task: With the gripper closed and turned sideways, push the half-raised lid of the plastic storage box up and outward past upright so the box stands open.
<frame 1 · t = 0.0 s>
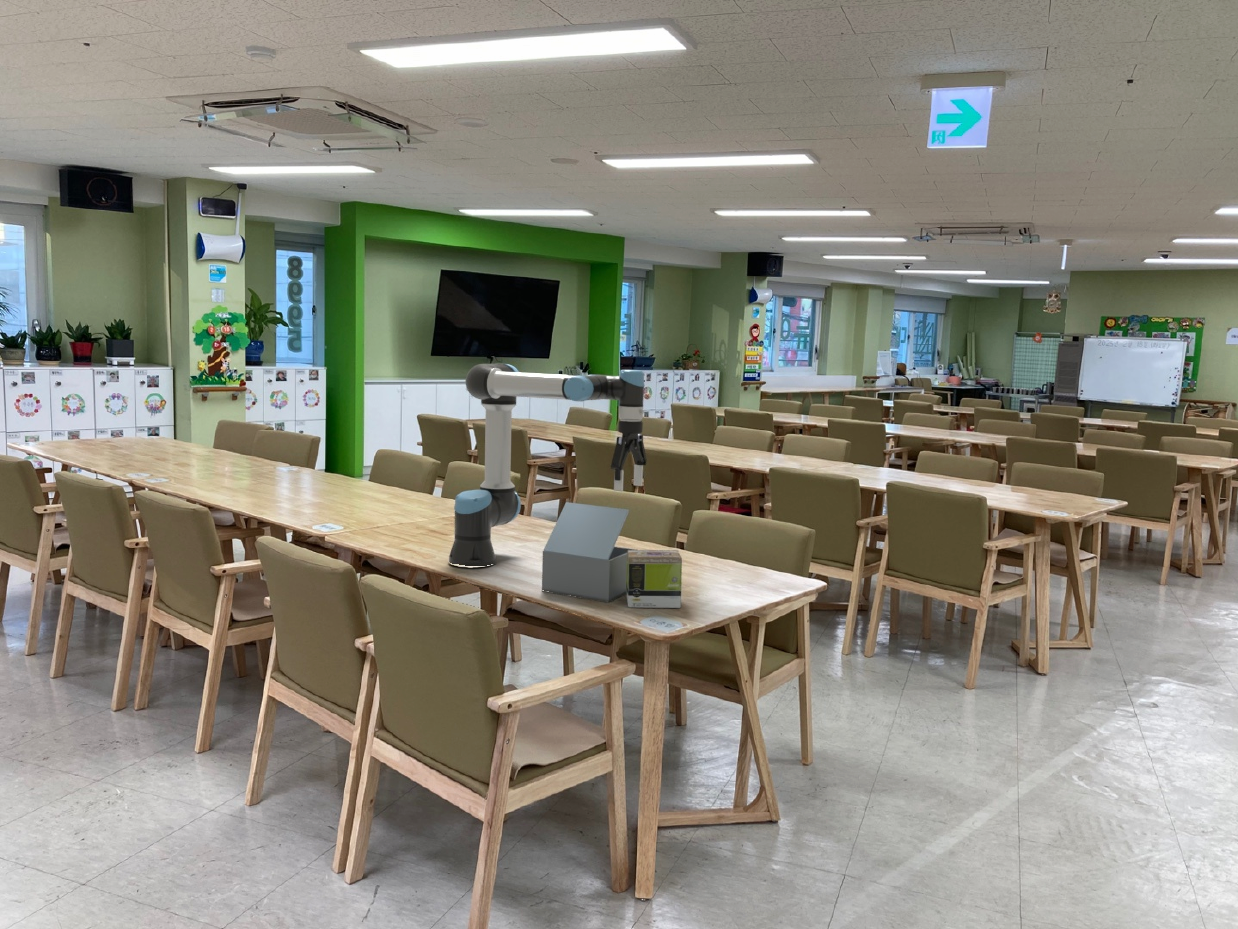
hand: (628, 488, 295), 28 cm above the table, tool pointing down, fingers open, 13 cm apart
storage box: (589, 590, 280), on the table
lid: (586, 530, 275), point 18 cm above the table, hinge at 45.0°
tea box: (652, 604, 268), on the table
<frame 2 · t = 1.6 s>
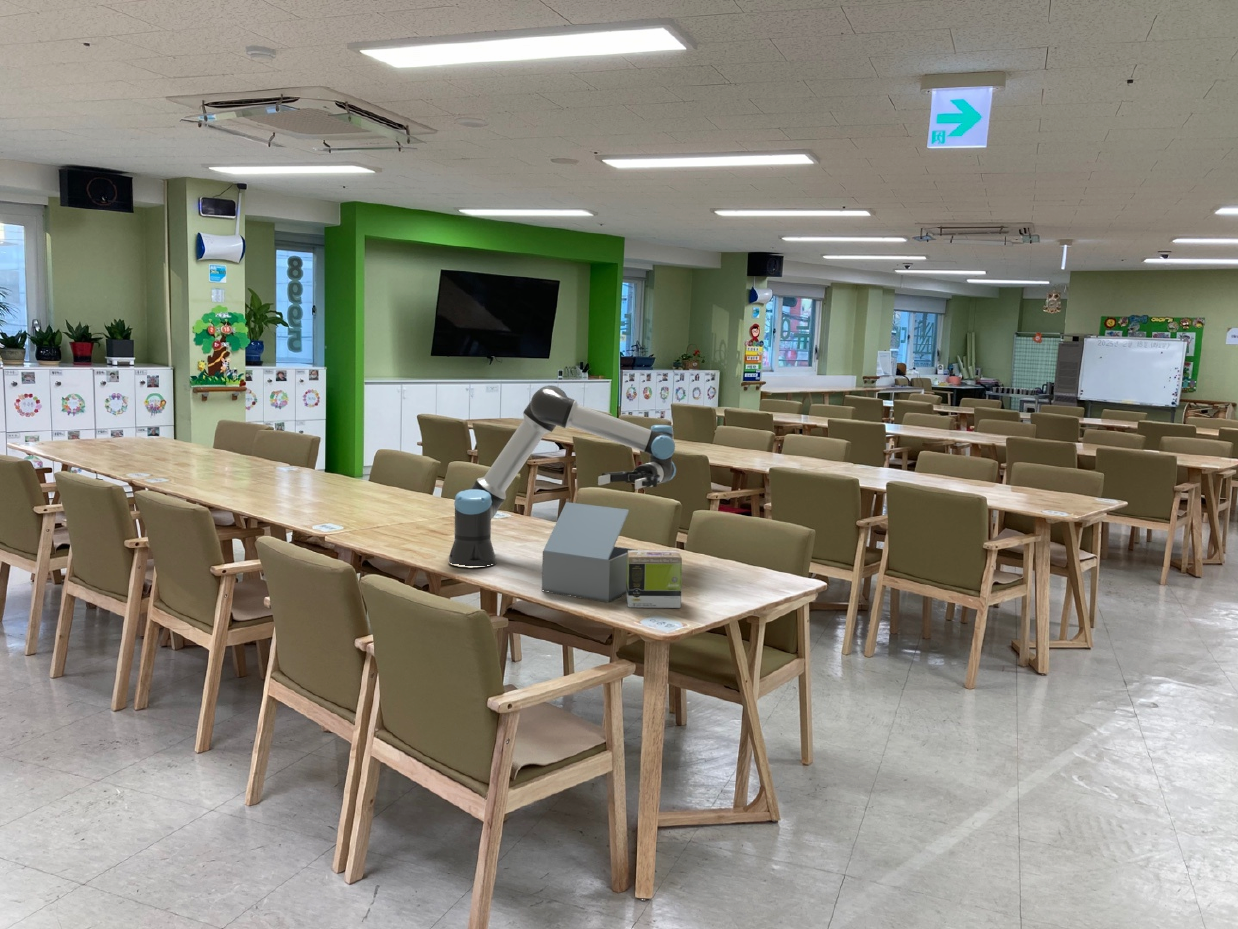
hand: (617, 482, 291), 30 cm above the table, tool horizontal, fingers open, 12 cm apart
nothing on the table moved.
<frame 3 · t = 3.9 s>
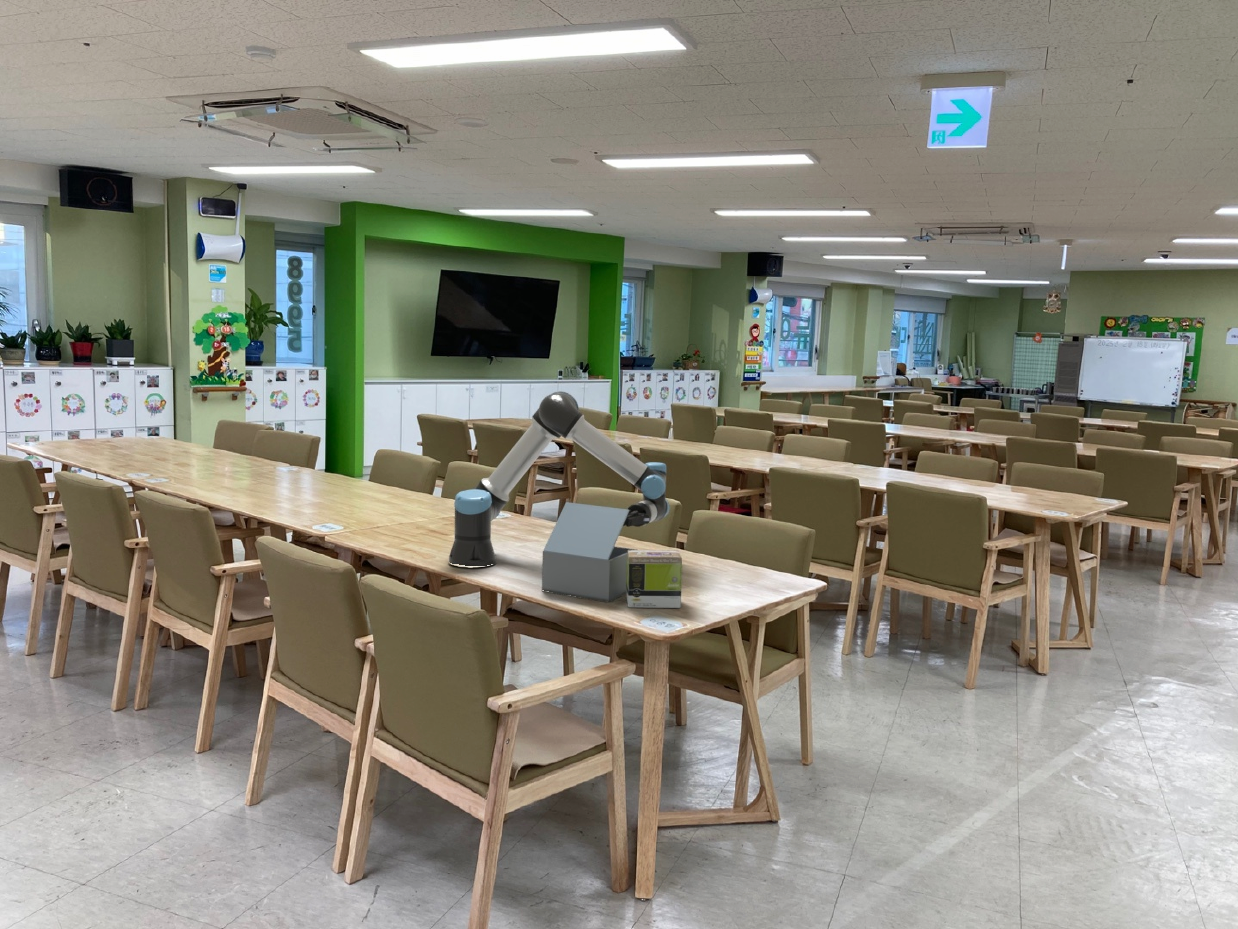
hand: (607, 525, 287), 18 cm above the table, tool horizontal, fingers closed
nothing on the table moved.
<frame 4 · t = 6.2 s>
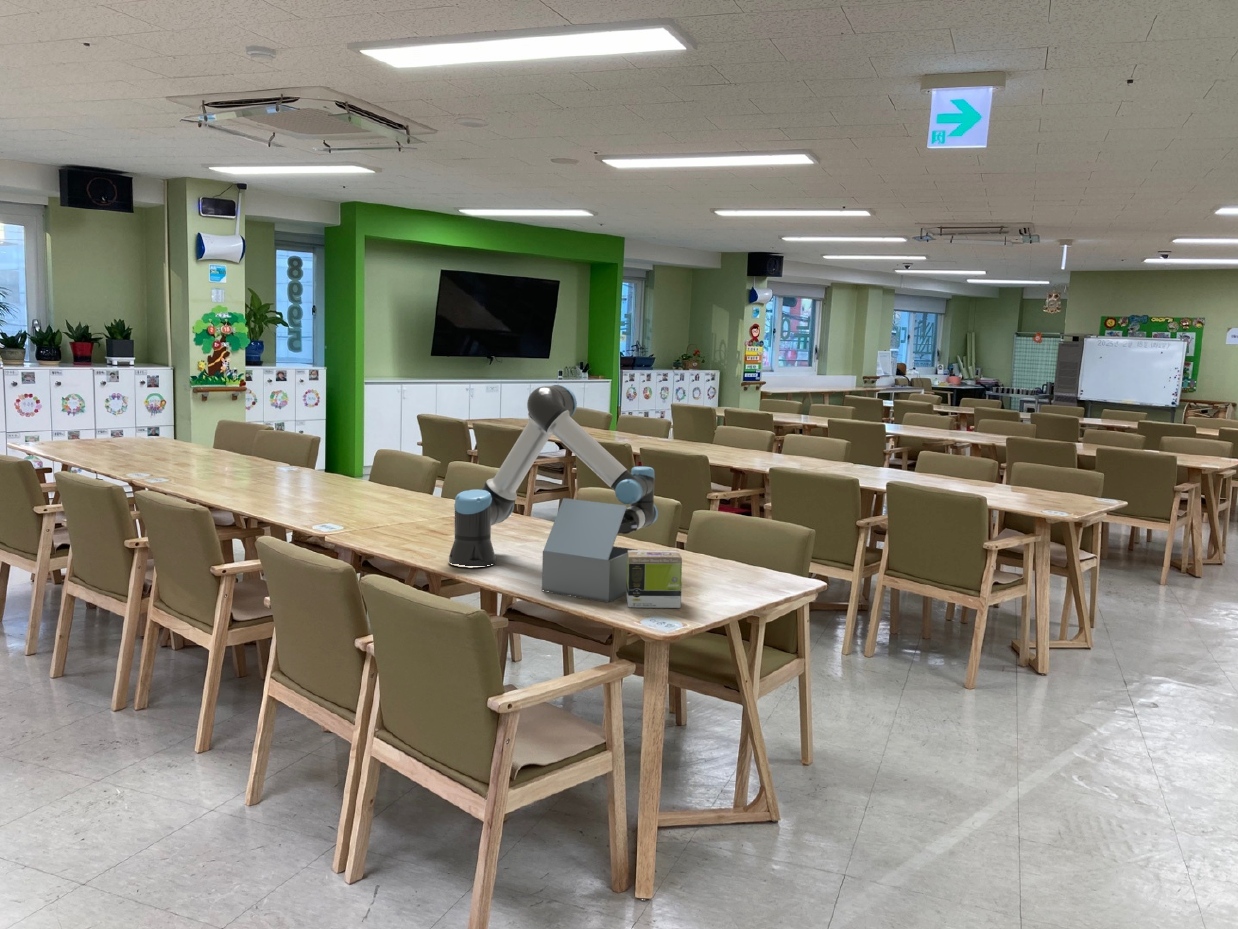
hand: (593, 532, 274), 18 cm above the table, tool horizontal, fingers closed
lid: (585, 528, 275), point 19 cm above the table, hinge at 52.5°, touching gripper
everything else where it was.
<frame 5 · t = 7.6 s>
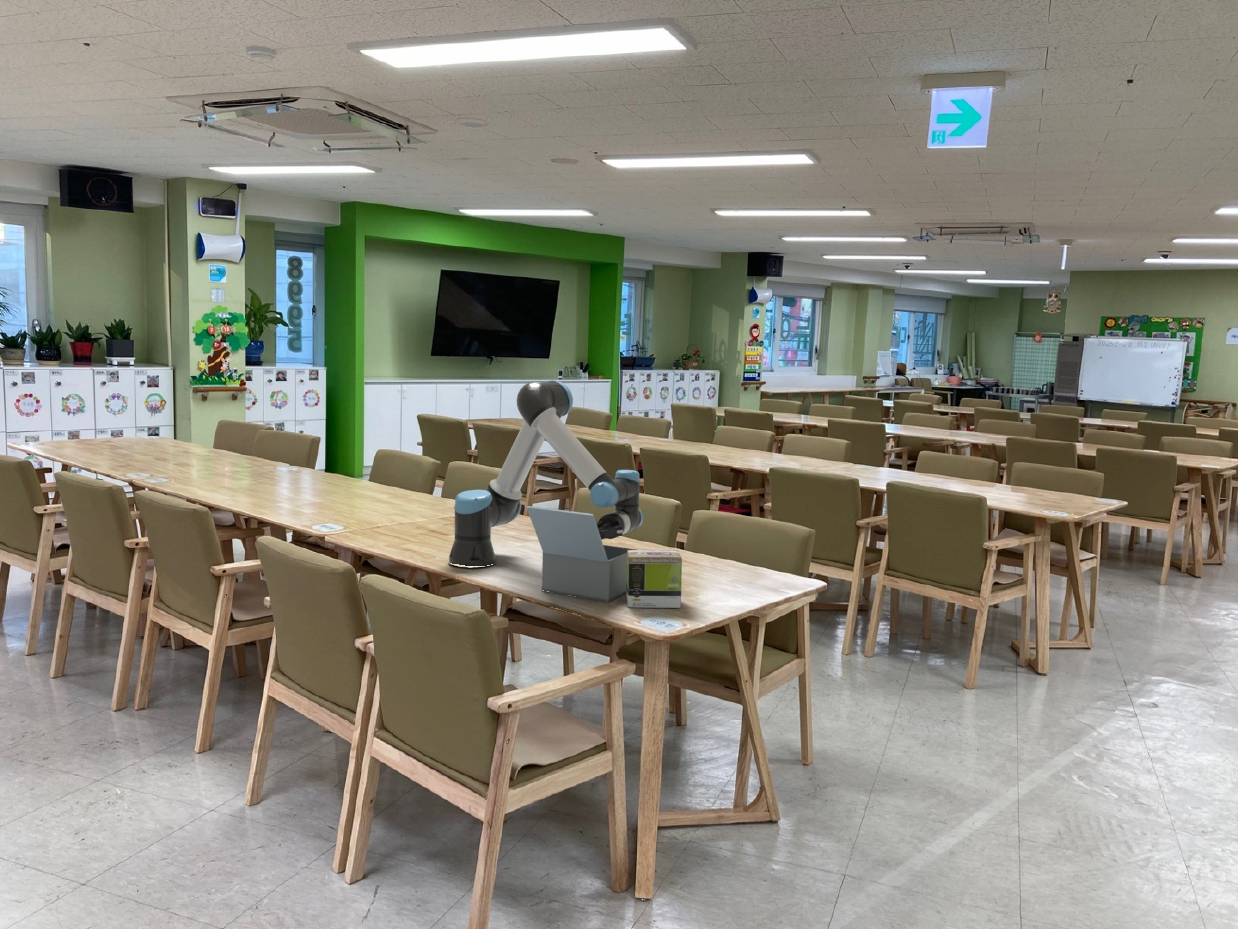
hand: (578, 538, 267), 18 cm above the table, tool horizontal, fingers closed
lid: (567, 534, 265), point 19 cm above the table, hinge at 123.2°, touching gripper
everything else where it was.
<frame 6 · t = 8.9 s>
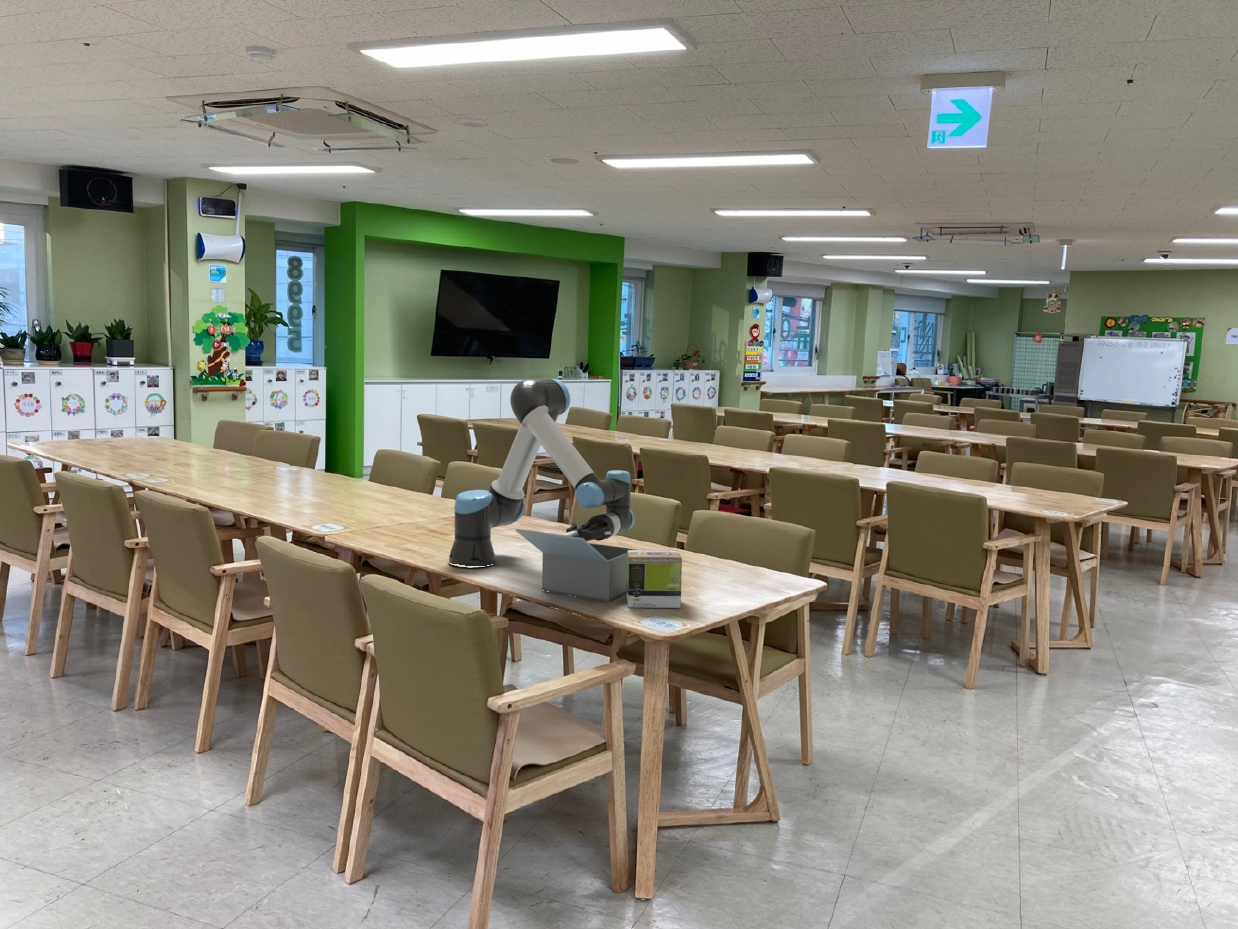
hand: (564, 539, 263), 18 cm above the table, tool horizontal, fingers closed
lid: (562, 546, 264), point 16 cm above the table, hinge at 148.8°, touching gripper
everything else where it was.
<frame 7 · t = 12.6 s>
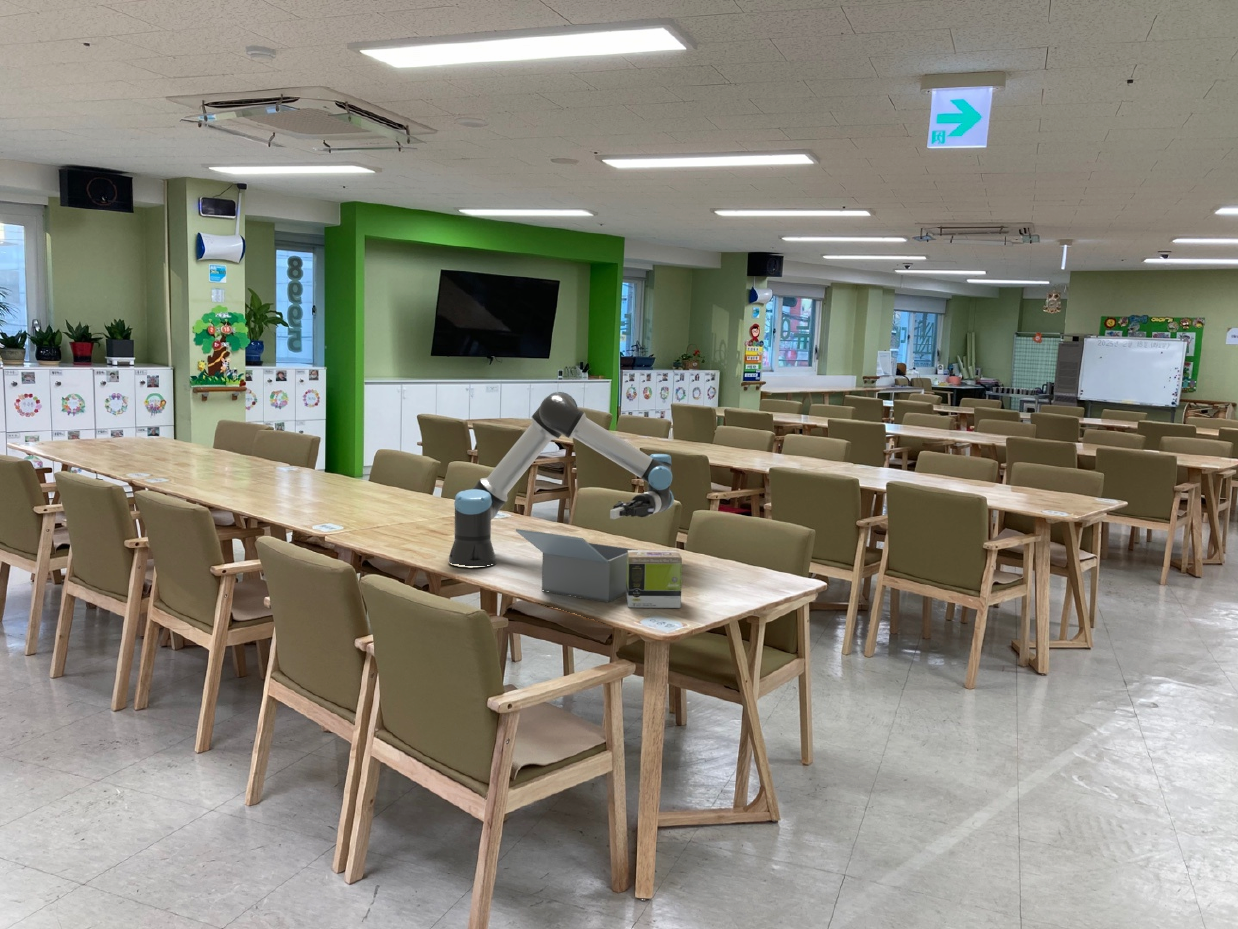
hand: (612, 514, 289), 21 cm above the table, tool horizontal, fingers closed
lid: (562, 546, 264), point 16 cm above the table, hinge at 148.9°
everything else where it was.
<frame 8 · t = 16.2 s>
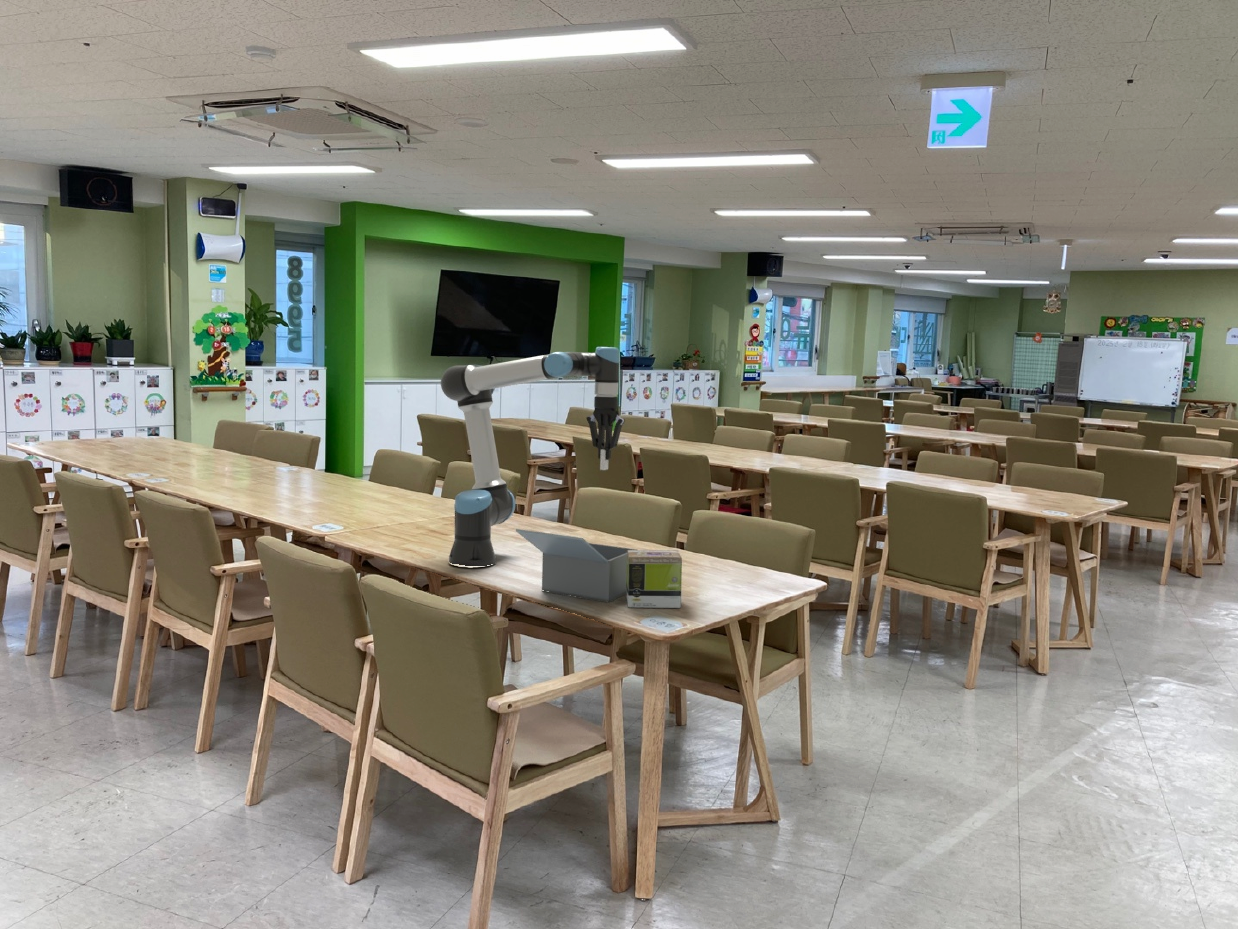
hand: (604, 469, 304), 32 cm above the table, tool pointing down, fingers closed
nothing on the table moved.
at the end: lid at +149° (first picture: +45°); tea box moved 0.3 cm from its start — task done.
